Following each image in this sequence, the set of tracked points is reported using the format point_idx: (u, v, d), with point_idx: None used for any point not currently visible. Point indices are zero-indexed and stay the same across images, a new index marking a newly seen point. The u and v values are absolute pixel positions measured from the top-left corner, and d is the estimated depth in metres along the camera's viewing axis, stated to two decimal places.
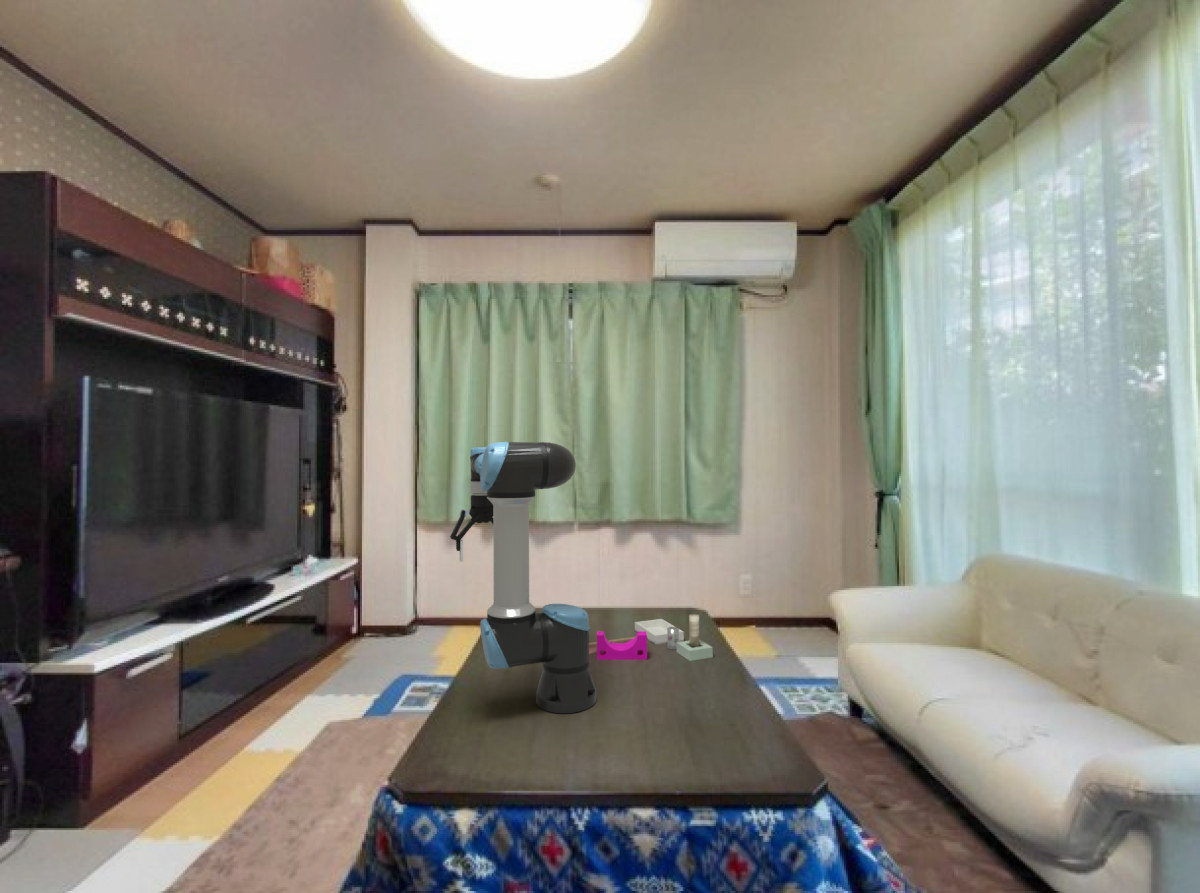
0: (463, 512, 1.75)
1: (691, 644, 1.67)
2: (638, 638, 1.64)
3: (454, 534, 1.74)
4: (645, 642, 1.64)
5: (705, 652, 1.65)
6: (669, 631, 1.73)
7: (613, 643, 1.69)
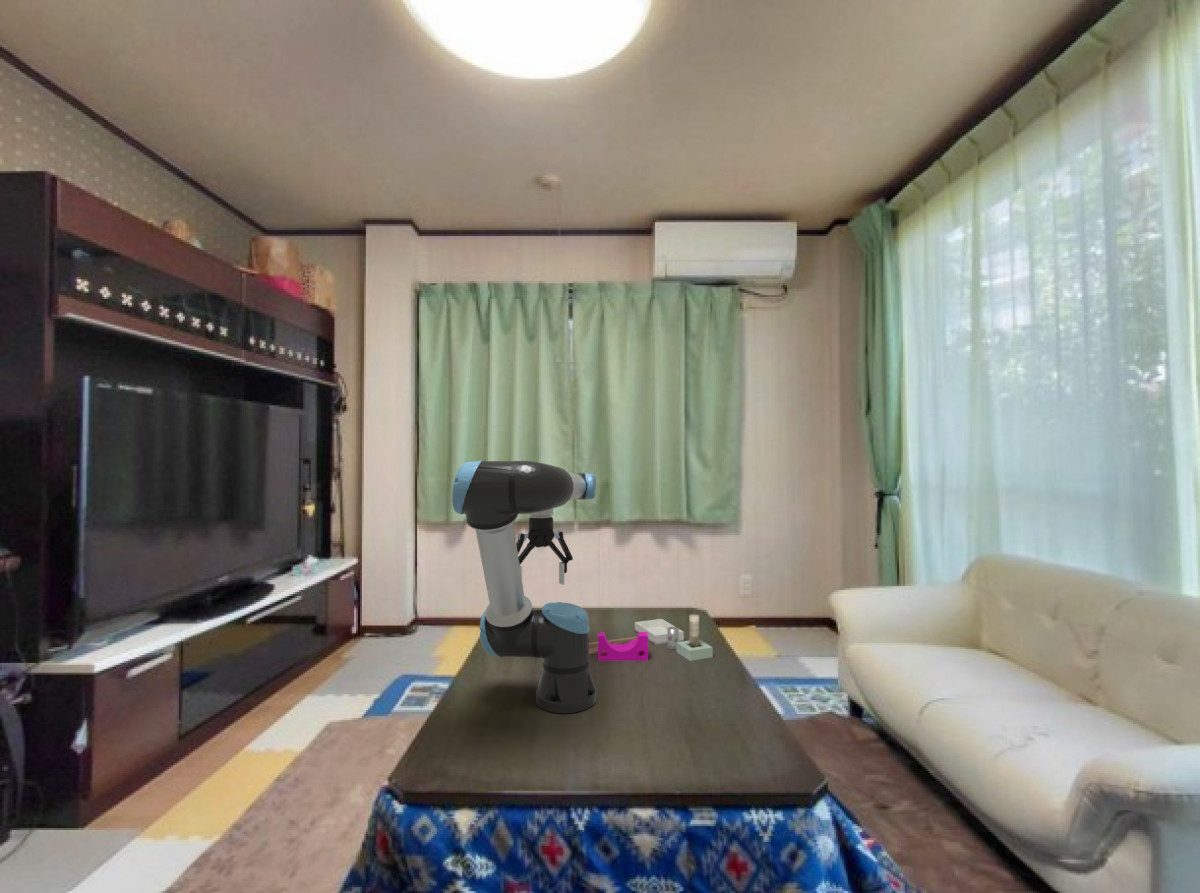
0: (522, 536, 1.65)
1: (691, 644, 1.67)
2: (639, 639, 1.63)
3: None
4: (646, 643, 1.63)
5: (705, 652, 1.65)
6: (669, 631, 1.73)
7: (614, 644, 1.68)
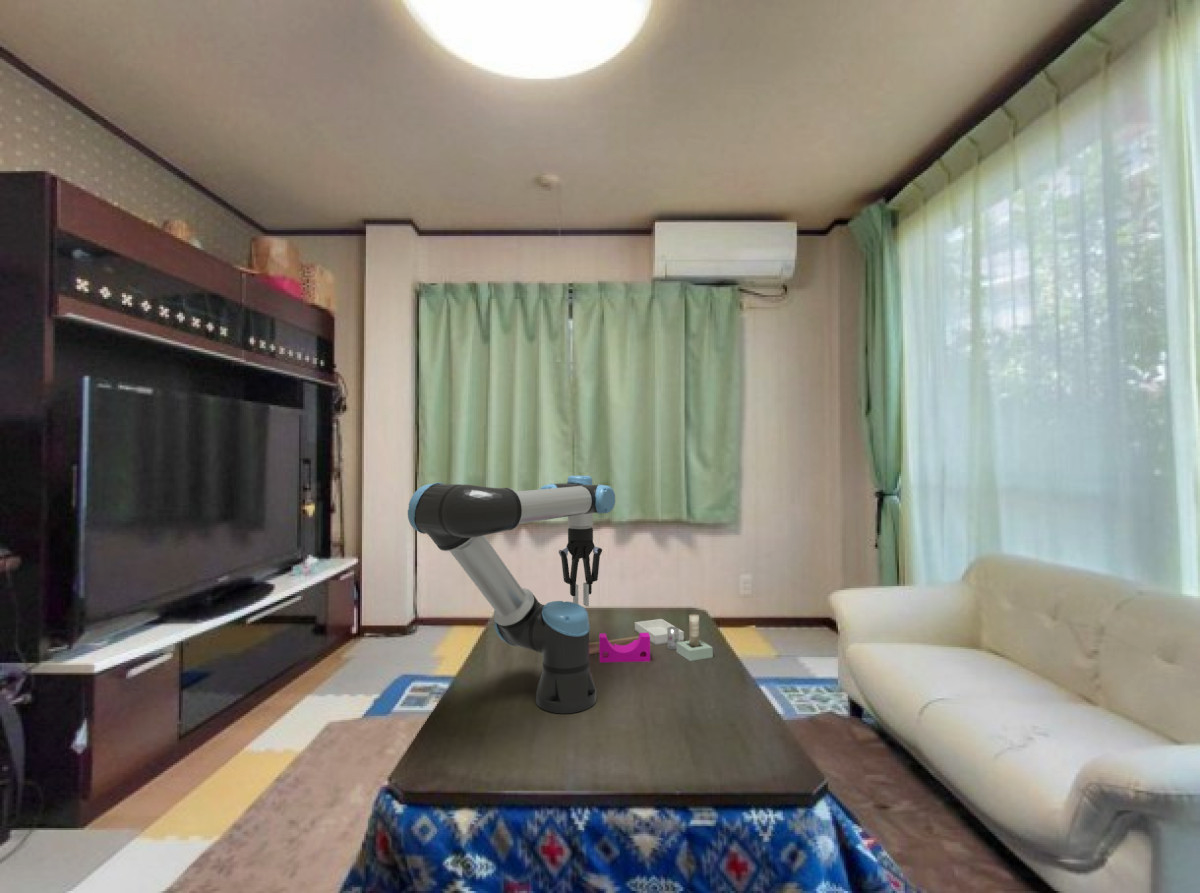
0: (563, 553, 1.60)
1: (691, 644, 1.67)
2: (641, 640, 1.63)
3: (567, 578, 1.61)
4: (648, 643, 1.63)
5: (705, 652, 1.65)
6: (669, 631, 1.73)
7: (615, 645, 1.67)
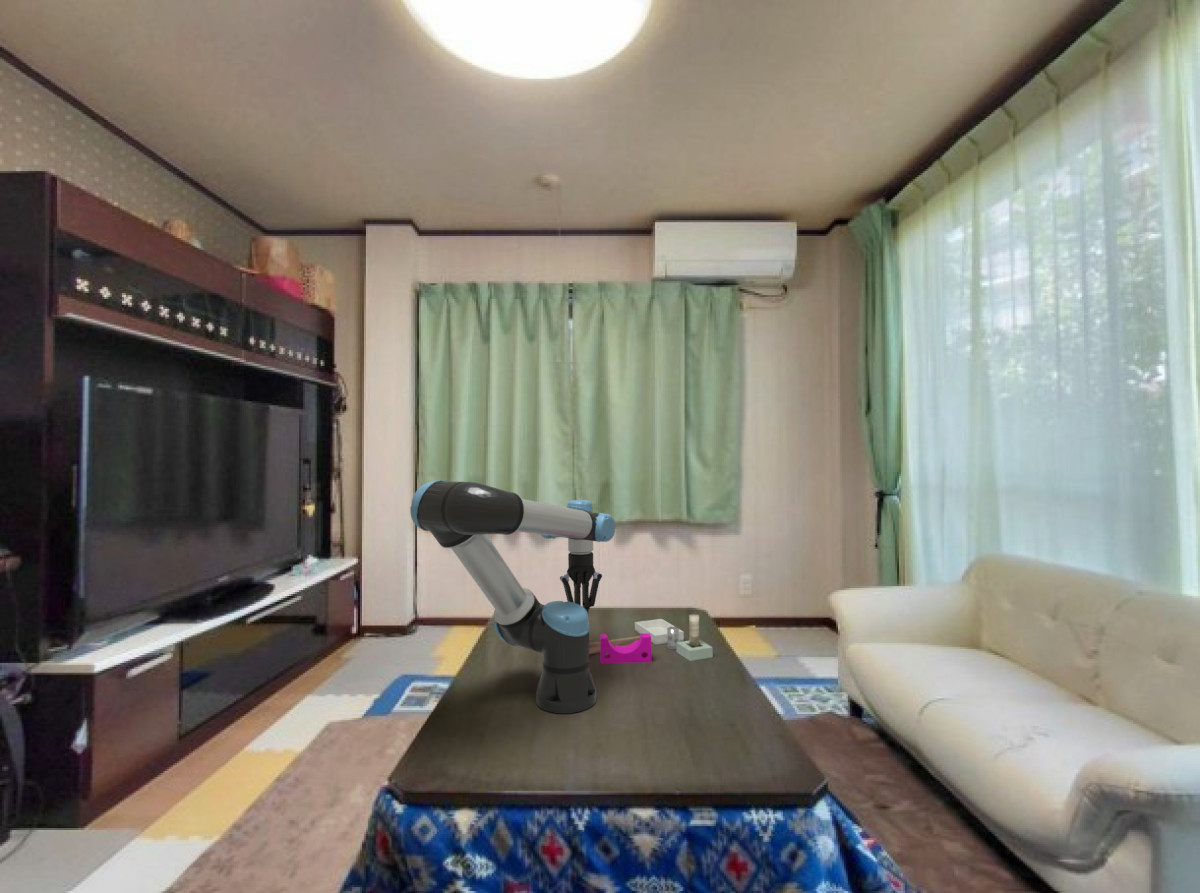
0: (564, 580, 1.60)
1: (691, 644, 1.67)
2: (642, 640, 1.62)
3: None
4: (649, 644, 1.62)
5: (705, 652, 1.65)
6: (669, 631, 1.73)
7: (616, 646, 1.67)
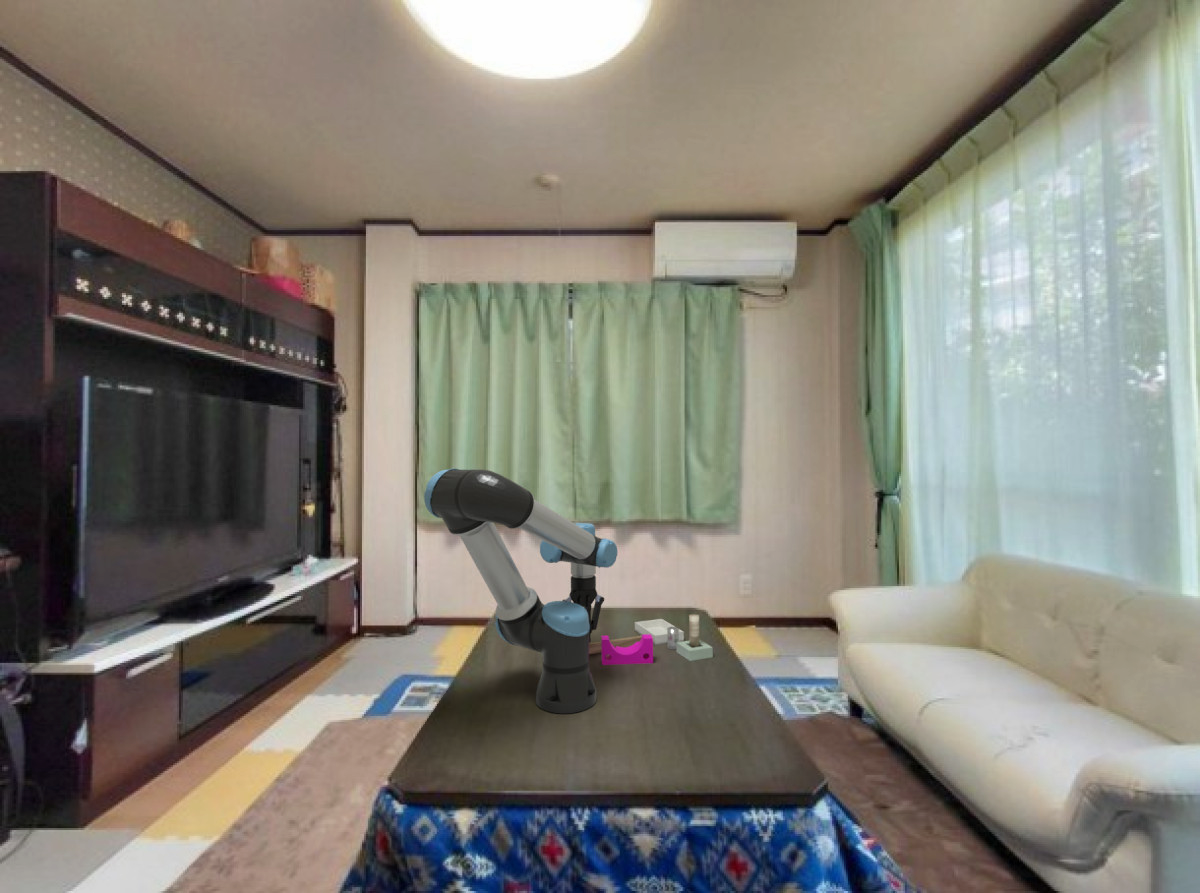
0: None
1: (691, 644, 1.67)
2: (644, 641, 1.61)
3: None
4: (651, 645, 1.61)
5: (705, 652, 1.65)
6: (669, 631, 1.73)
7: (617, 647, 1.65)
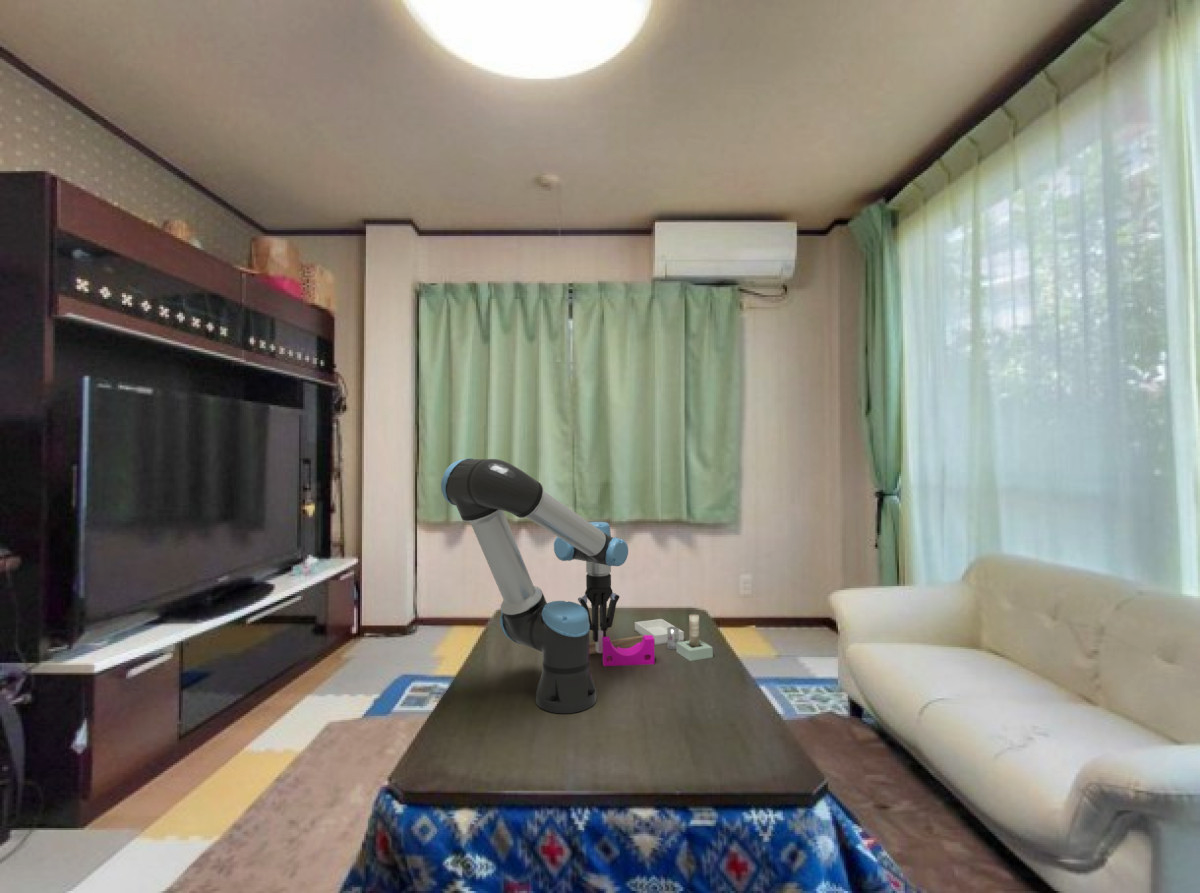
0: (582, 601, 1.62)
1: (691, 644, 1.67)
2: (645, 642, 1.60)
3: (590, 624, 1.63)
4: (652, 646, 1.60)
5: (705, 652, 1.65)
6: (669, 631, 1.73)
7: (618, 648, 1.65)
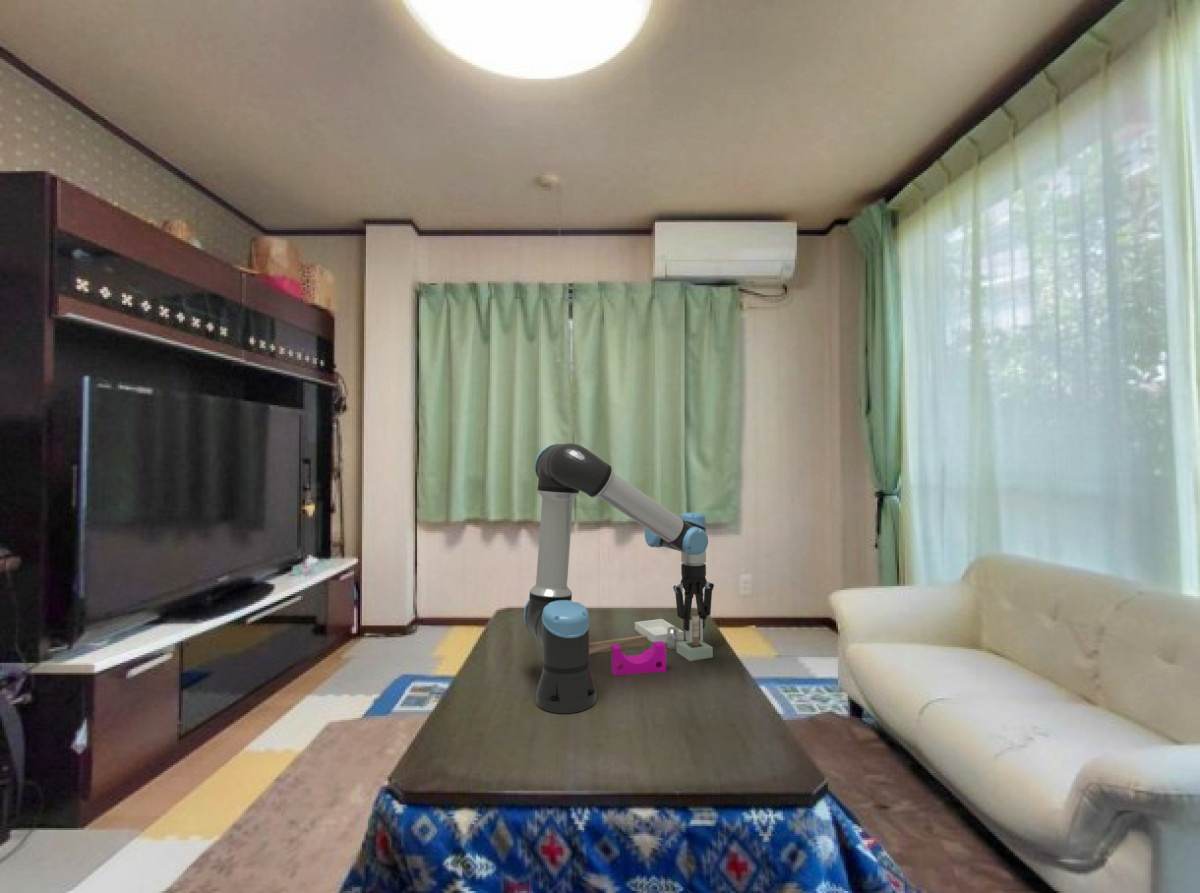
0: (679, 589, 1.65)
1: (691, 644, 1.67)
2: (657, 649, 1.55)
3: (682, 613, 1.65)
4: (664, 653, 1.55)
5: (705, 652, 1.65)
6: (669, 631, 1.73)
7: (627, 656, 1.58)
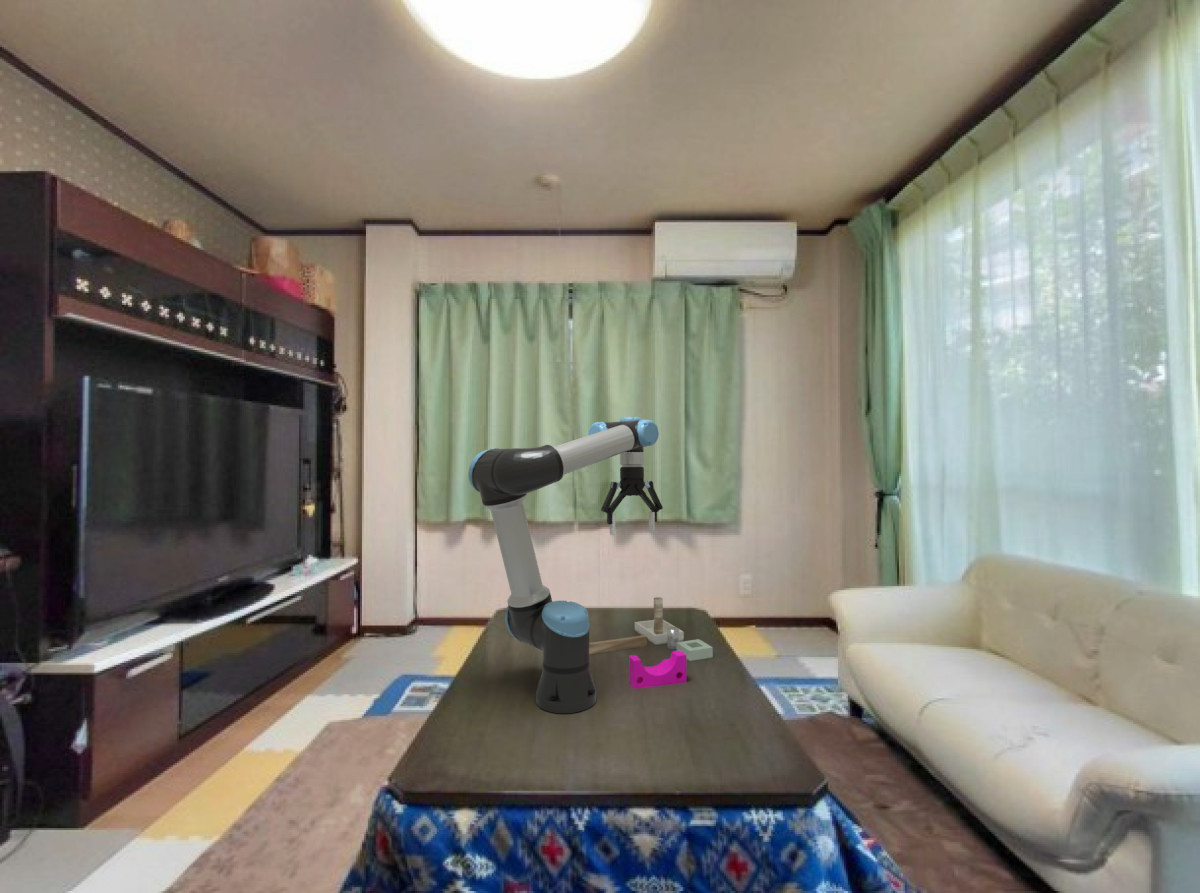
0: (615, 484, 1.69)
1: (655, 624, 1.85)
2: (677, 659, 1.47)
3: (607, 507, 1.68)
4: (684, 663, 1.47)
5: (705, 652, 1.65)
6: (669, 631, 1.73)
7: (645, 667, 1.50)
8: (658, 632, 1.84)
